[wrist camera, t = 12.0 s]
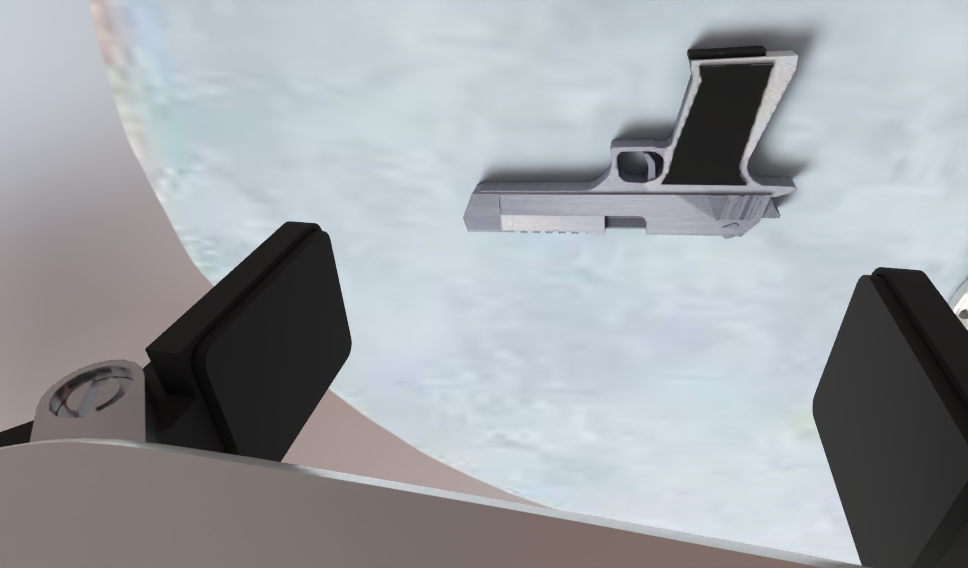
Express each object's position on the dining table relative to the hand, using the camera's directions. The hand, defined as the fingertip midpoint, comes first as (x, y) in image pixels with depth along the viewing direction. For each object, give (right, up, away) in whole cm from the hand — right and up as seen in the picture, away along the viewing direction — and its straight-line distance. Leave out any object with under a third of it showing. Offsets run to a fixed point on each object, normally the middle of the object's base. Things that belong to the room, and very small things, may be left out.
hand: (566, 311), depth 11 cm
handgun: (+8, +10, +29) cm, 32 cm away
